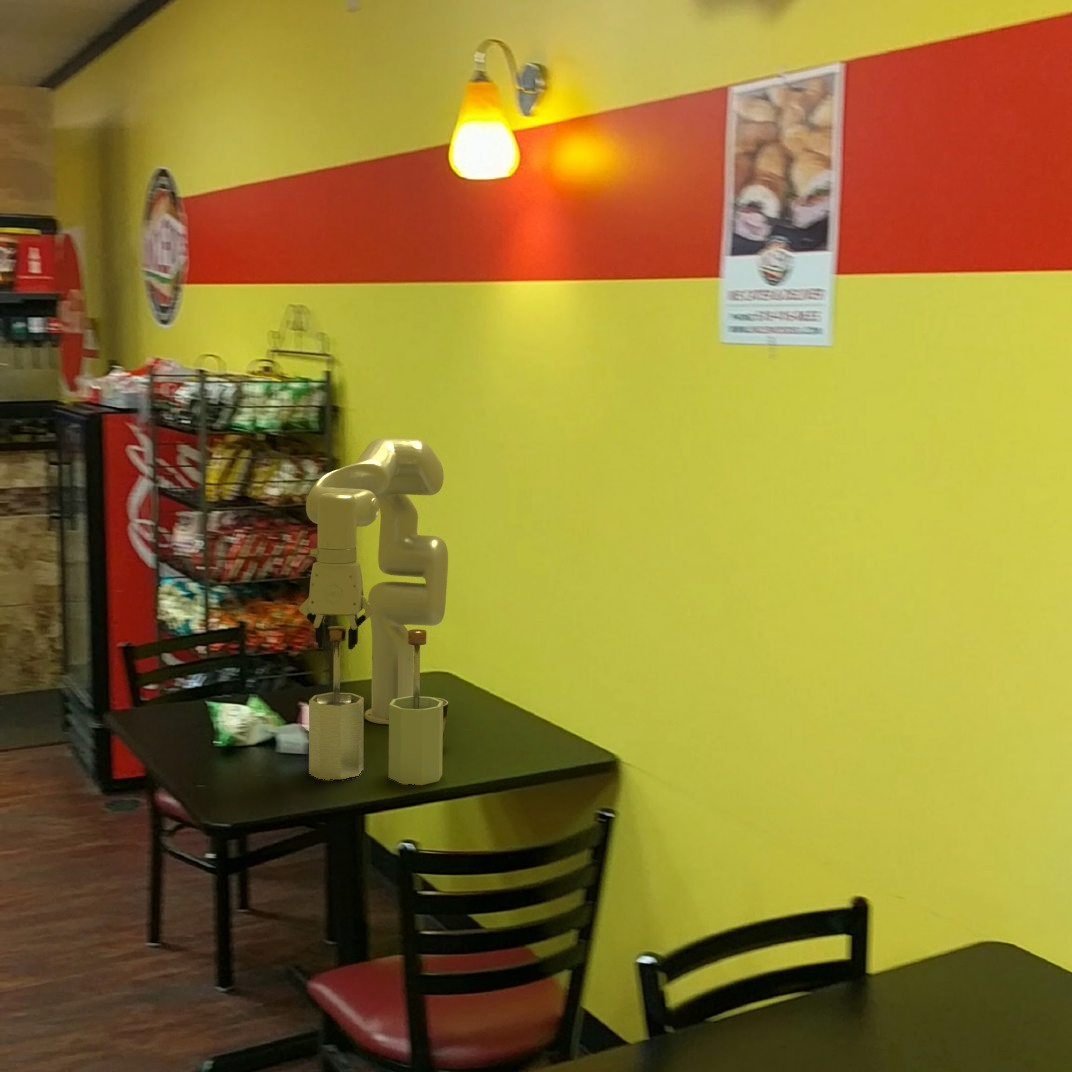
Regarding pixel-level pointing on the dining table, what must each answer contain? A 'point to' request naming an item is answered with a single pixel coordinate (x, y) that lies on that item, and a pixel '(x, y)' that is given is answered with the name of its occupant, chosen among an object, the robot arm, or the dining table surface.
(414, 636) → the sage plunger
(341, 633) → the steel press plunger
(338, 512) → the robot arm
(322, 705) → the beige tall hollow piece
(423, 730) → the cup
